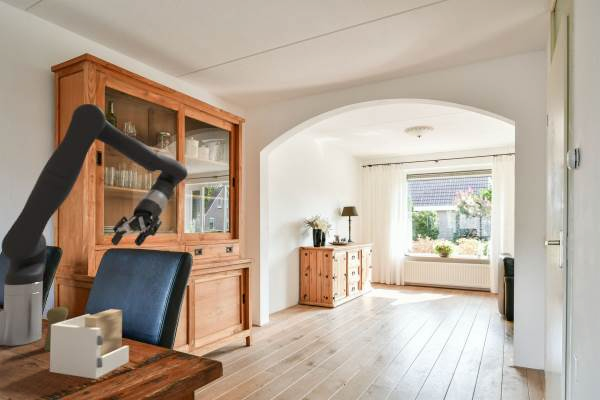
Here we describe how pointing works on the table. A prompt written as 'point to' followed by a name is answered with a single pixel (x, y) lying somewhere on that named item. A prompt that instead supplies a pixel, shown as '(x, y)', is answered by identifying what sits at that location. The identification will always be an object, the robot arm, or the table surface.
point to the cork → (54, 322)
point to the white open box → (82, 350)
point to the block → (107, 329)
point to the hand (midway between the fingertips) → (125, 243)
